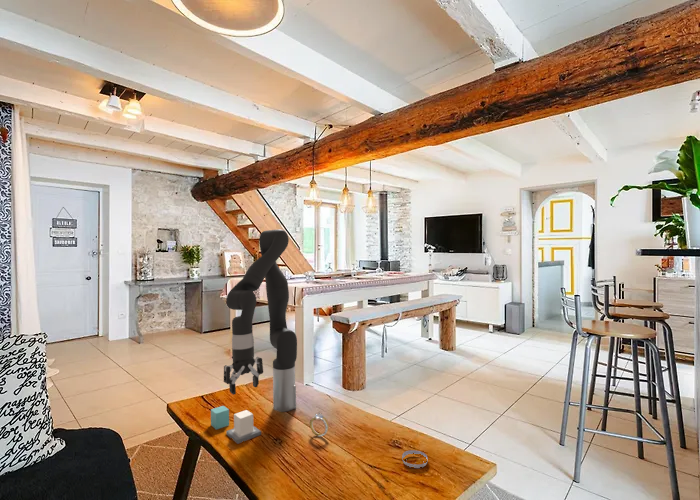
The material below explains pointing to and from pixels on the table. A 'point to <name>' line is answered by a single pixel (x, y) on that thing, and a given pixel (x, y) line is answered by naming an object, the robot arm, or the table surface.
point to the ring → (320, 416)
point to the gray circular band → (414, 453)
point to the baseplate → (247, 436)
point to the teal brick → (219, 417)
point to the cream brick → (243, 422)
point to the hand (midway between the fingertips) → (244, 390)
